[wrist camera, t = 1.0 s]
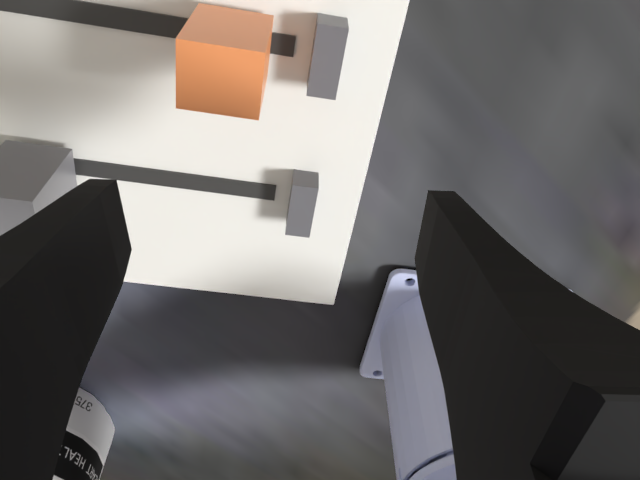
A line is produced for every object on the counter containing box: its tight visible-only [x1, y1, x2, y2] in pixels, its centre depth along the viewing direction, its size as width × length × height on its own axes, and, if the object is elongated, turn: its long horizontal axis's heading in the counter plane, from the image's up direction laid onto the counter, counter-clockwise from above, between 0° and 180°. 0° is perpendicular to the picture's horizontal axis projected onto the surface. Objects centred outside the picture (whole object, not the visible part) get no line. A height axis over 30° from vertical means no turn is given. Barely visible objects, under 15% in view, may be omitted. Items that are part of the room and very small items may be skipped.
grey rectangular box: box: [0, 140, 77, 236], centre depth 19 cm, size 2×2×4 cm
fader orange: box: [176, 3, 274, 120], centre depth 16 cm, size 2×2×4 cm
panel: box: [0, 0, 409, 305], centre depth 19 cm, size 19×18×2 cm
